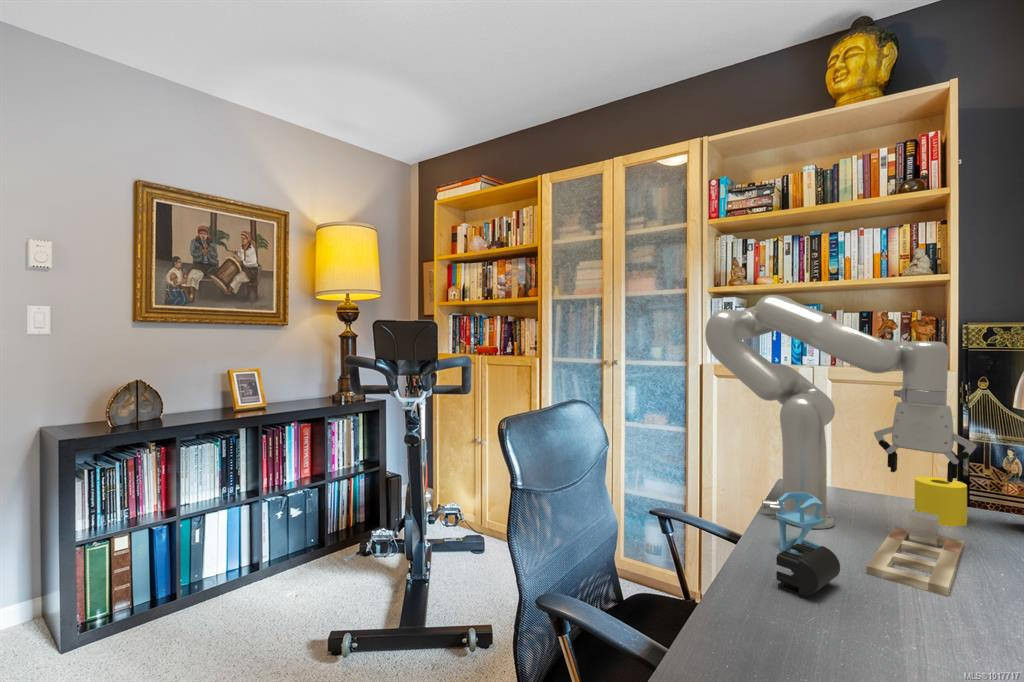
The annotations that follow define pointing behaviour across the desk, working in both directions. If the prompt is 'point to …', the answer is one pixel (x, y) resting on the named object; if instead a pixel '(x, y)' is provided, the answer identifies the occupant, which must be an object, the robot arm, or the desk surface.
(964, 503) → the tape roll
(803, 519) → the chair
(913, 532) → the steel block
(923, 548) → the hole rail
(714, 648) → the desk surface
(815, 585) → the power tool battery
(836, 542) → the desk surface
